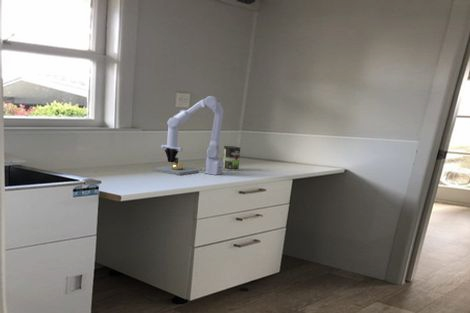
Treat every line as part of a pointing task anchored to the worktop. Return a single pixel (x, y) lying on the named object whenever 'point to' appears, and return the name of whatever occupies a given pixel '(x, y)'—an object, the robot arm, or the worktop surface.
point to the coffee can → (231, 158)
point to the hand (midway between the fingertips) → (170, 162)
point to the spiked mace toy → (177, 165)
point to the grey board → (173, 171)
